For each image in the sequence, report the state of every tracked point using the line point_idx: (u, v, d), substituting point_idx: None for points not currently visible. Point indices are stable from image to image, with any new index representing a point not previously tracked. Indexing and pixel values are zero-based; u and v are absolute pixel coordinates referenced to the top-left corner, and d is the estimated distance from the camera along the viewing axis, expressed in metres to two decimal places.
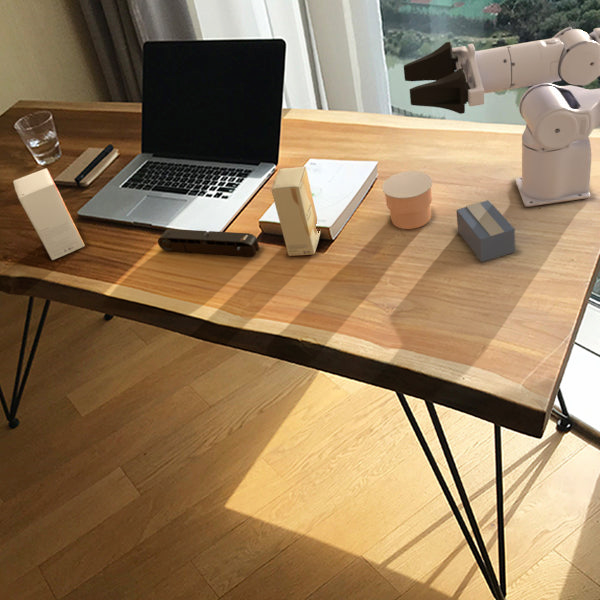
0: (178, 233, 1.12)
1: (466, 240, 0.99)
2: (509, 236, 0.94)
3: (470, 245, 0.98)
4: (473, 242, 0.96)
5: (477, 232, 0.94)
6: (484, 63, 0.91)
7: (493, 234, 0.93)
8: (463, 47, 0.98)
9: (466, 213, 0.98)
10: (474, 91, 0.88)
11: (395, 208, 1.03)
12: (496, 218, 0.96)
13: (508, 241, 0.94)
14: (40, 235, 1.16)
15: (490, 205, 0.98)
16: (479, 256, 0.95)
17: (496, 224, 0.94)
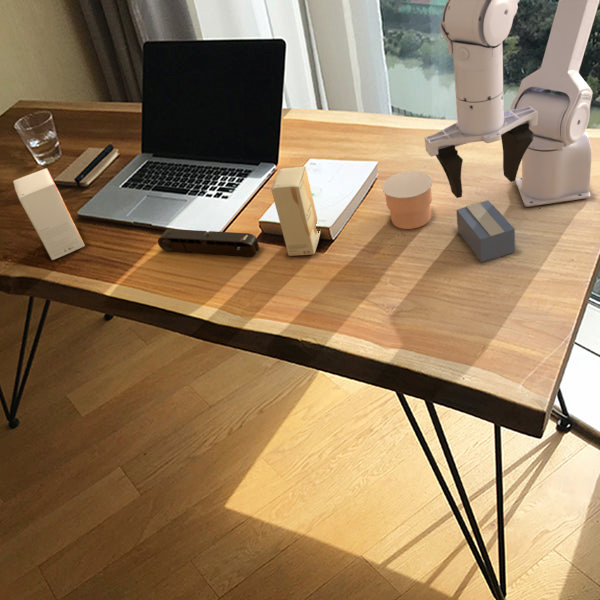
0: (178, 233, 1.12)
1: (466, 240, 0.99)
2: (509, 236, 0.94)
3: (470, 245, 0.98)
4: (473, 242, 0.96)
5: (477, 232, 0.94)
6: (501, 119, 0.85)
7: (493, 234, 0.93)
8: (434, 144, 0.86)
9: (466, 213, 0.98)
10: (536, 120, 0.87)
11: (395, 208, 1.03)
12: (496, 218, 0.96)
13: (508, 241, 0.94)
14: (40, 235, 1.16)
15: (490, 205, 0.98)
16: (479, 256, 0.95)
17: (496, 224, 0.94)
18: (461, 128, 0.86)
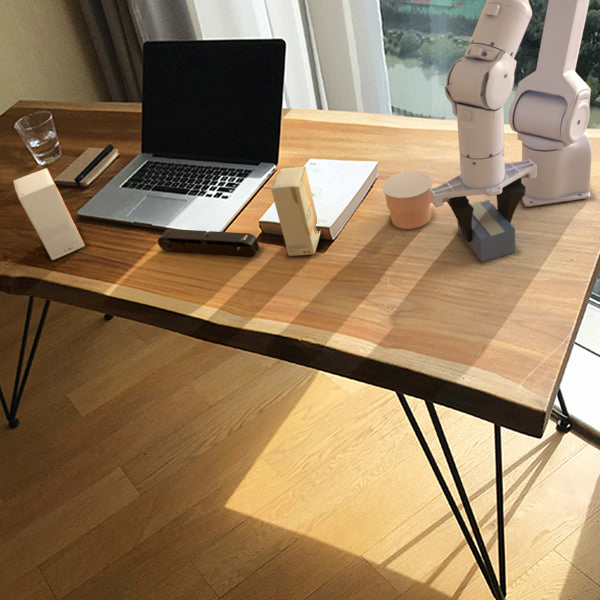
0: (178, 233, 1.12)
1: None
2: (509, 236, 0.94)
3: (470, 245, 0.98)
4: (474, 242, 0.96)
5: (477, 232, 0.94)
6: (502, 173, 0.90)
7: (494, 233, 0.93)
8: (439, 196, 0.91)
9: None
10: (535, 173, 0.92)
11: (395, 208, 1.03)
12: (496, 218, 0.96)
13: (508, 241, 0.94)
14: (40, 235, 1.16)
15: (490, 205, 0.98)
16: (480, 256, 0.95)
17: (497, 224, 0.94)
18: (464, 181, 0.91)
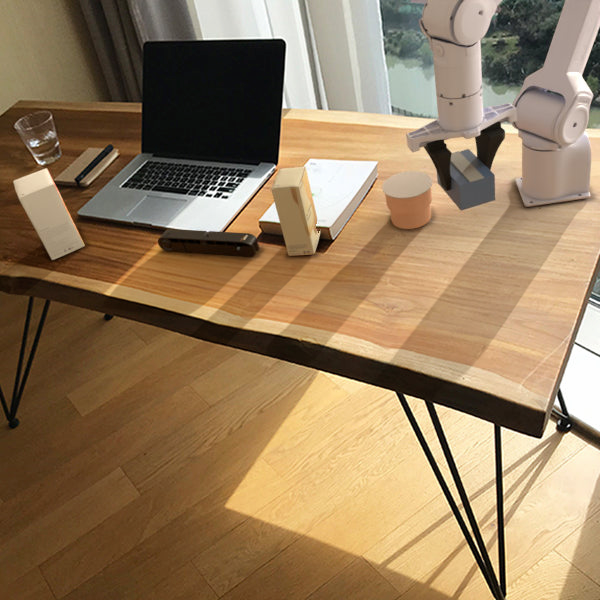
0: (178, 233, 1.12)
1: None
2: (489, 182, 0.91)
3: (449, 194, 0.95)
4: (453, 190, 0.93)
5: (456, 179, 0.91)
6: (481, 115, 0.87)
7: (473, 180, 0.90)
8: (415, 140, 0.88)
9: None
10: (515, 116, 0.89)
11: (395, 208, 1.03)
12: (476, 166, 0.93)
13: (488, 188, 0.91)
14: (40, 235, 1.16)
15: (470, 153, 0.95)
16: (459, 204, 0.92)
17: (476, 171, 0.91)
18: (442, 124, 0.88)
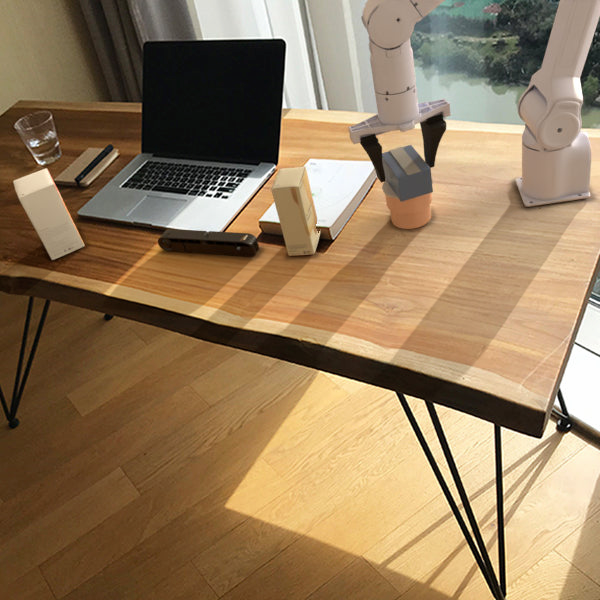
0: (178, 233, 1.12)
1: (389, 182, 1.04)
2: (426, 176, 0.98)
3: (392, 187, 1.02)
4: (394, 183, 1.00)
5: (396, 172, 0.99)
6: (415, 110, 0.94)
7: (410, 173, 0.97)
8: (356, 133, 0.95)
9: (388, 156, 1.03)
10: (449, 111, 0.96)
11: (395, 208, 1.03)
12: (415, 160, 1.00)
13: (425, 181, 0.99)
14: (40, 235, 1.16)
15: (411, 148, 1.03)
16: (399, 196, 1.00)
17: (414, 165, 0.99)
18: (380, 118, 0.95)
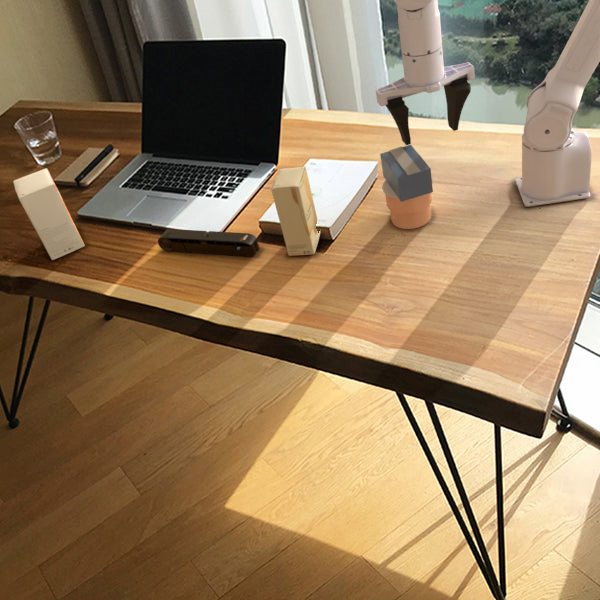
0: (178, 233, 1.12)
1: (389, 182, 1.04)
2: (426, 176, 0.98)
3: (392, 187, 1.02)
4: (394, 183, 1.00)
5: (396, 172, 0.99)
6: (441, 72, 0.97)
7: (410, 173, 0.97)
8: (383, 95, 0.98)
9: (388, 156, 1.03)
10: (473, 74, 0.99)
11: (395, 208, 1.03)
12: (415, 160, 1.00)
13: (425, 181, 0.99)
14: (40, 235, 1.16)
15: (411, 148, 1.03)
16: (399, 196, 1.00)
17: (414, 165, 0.99)
18: (407, 81, 0.98)
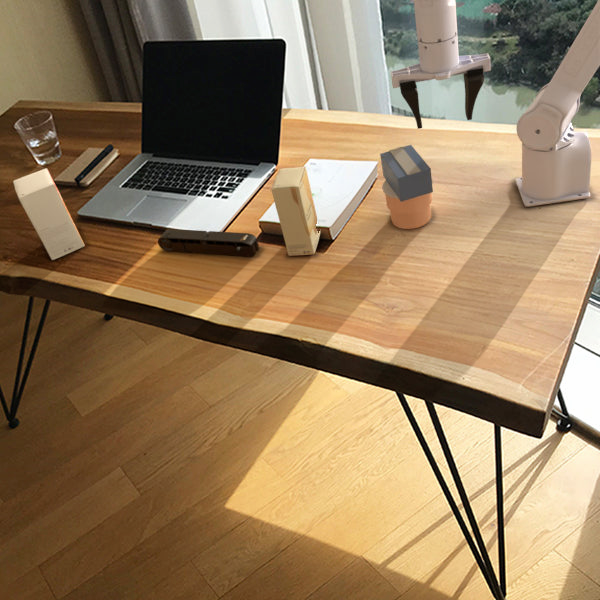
0: (178, 233, 1.12)
1: (389, 182, 1.04)
2: (426, 176, 0.98)
3: (392, 187, 1.02)
4: (394, 183, 1.00)
5: (396, 172, 0.99)
6: (454, 60, 0.99)
7: (410, 173, 0.97)
8: (395, 77, 1.02)
9: (388, 156, 1.03)
10: (489, 66, 1.00)
11: (395, 208, 1.03)
12: (415, 160, 1.00)
13: (425, 181, 0.99)
14: (40, 235, 1.16)
15: (411, 148, 1.03)
16: (399, 196, 1.00)
17: (414, 165, 0.99)
18: (420, 66, 1.01)
